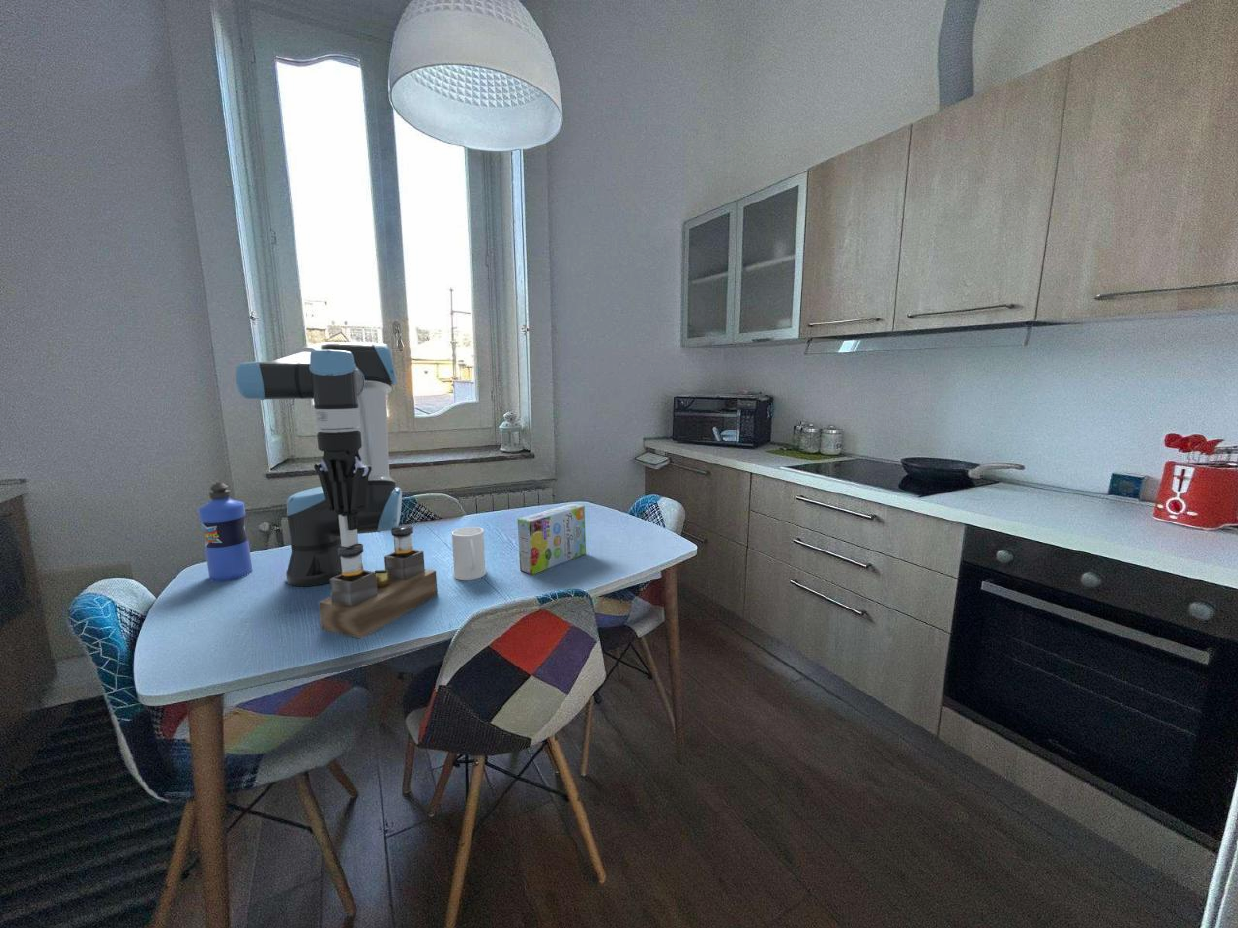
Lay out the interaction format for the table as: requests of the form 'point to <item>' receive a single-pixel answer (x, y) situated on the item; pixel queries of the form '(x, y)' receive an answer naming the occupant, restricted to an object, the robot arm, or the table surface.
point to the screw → (382, 578)
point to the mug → (468, 553)
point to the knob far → (402, 541)
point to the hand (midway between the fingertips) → (349, 544)
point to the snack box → (551, 537)
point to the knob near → (351, 561)
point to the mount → (377, 596)
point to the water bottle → (225, 535)
